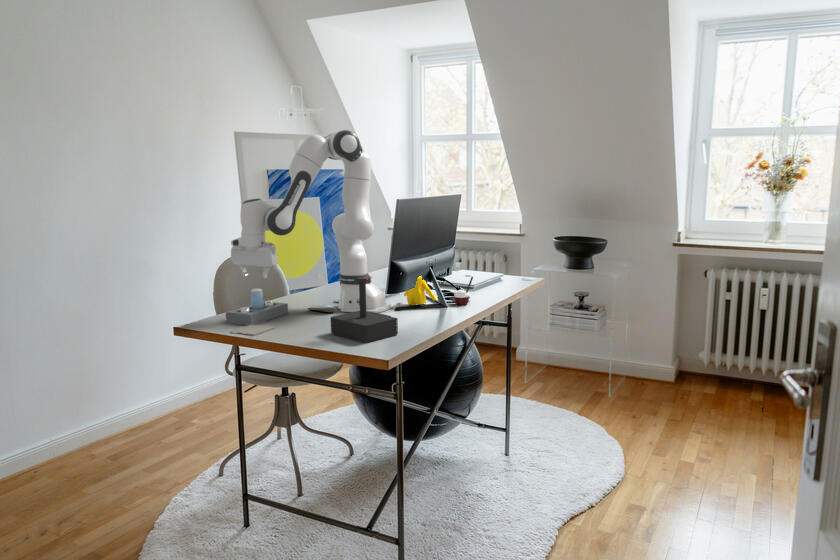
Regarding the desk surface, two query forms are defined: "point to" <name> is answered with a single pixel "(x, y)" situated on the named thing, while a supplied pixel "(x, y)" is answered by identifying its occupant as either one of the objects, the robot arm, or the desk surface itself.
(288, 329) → the desk surface
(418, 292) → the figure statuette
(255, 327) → the mat
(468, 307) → the desk surface
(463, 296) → the cocoa
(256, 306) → the cartridge
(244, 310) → the plunger
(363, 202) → the robot arm
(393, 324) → the black post stand
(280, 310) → the housing
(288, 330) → the desk surface
